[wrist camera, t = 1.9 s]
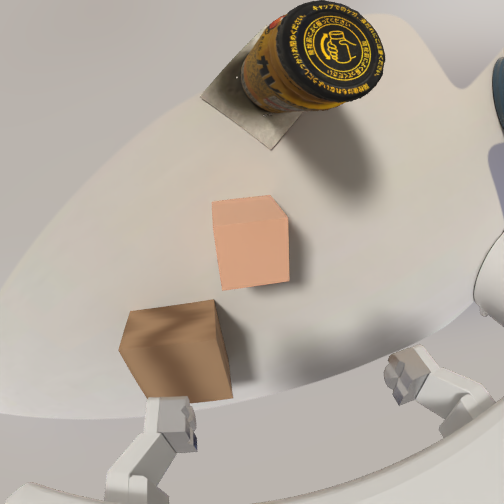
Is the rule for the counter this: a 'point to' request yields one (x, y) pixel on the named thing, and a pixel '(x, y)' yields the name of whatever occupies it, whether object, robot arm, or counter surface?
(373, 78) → the condiment
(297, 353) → the counter surface
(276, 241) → the terracotta cube
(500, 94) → the canister
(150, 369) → the walnut box
